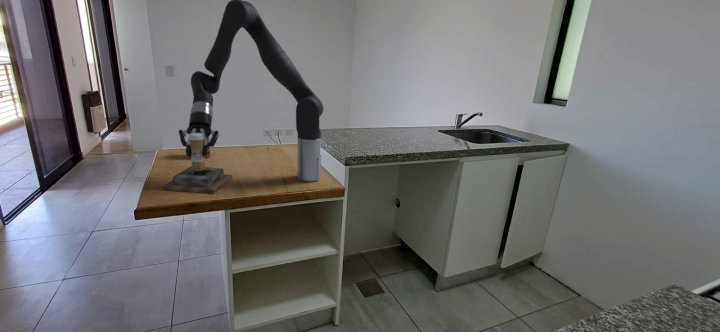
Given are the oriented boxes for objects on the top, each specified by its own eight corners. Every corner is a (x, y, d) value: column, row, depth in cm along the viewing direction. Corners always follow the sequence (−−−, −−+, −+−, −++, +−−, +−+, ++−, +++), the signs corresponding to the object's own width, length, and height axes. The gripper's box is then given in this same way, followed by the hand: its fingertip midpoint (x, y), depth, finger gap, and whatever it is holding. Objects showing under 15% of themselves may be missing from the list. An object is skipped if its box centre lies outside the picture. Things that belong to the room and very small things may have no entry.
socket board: (232, 178, 132) (232, 167, 131) (214, 193, 117) (213, 181, 116) (187, 175, 132) (186, 164, 131) (163, 189, 117) (162, 177, 116)
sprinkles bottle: (190, 171, 121) (187, 135, 117) (194, 167, 125) (191, 132, 121) (204, 171, 122) (201, 135, 118) (207, 167, 126) (204, 132, 122)
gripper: (178, 109, 122) (171, 150, 115) (219, 111, 126) (216, 150, 118) (183, 121, 129) (177, 160, 121) (222, 122, 132) (219, 160, 125)
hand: (196, 155), depth 120 cm, fingers closed on sprinkles bottle, 4 cm apart
